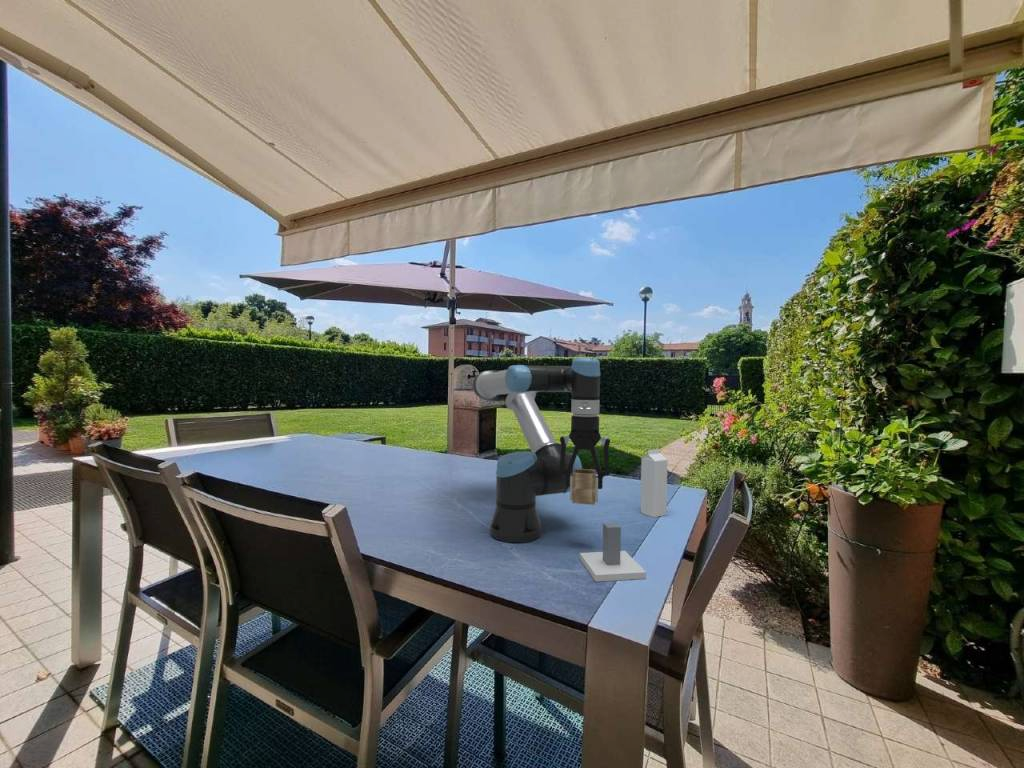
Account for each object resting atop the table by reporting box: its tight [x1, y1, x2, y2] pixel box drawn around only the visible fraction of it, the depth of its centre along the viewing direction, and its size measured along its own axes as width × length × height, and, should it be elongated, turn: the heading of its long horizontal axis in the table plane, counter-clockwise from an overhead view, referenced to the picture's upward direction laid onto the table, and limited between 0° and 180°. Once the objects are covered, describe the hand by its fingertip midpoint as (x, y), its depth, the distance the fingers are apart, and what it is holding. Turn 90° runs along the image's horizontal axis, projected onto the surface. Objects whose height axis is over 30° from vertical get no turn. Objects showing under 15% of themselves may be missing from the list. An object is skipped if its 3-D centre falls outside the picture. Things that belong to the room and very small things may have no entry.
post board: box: [579, 522, 647, 583], centre depth 101 cm, size 12×12×10 cm
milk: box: [640, 448, 668, 519], centre depth 142 cm, size 6×6×22 cm
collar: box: [571, 468, 597, 505], centre depth 114 cm, size 6×6×8 cm
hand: (583, 499), depth 114 cm, fingers closed on collar, 6 cm apart
